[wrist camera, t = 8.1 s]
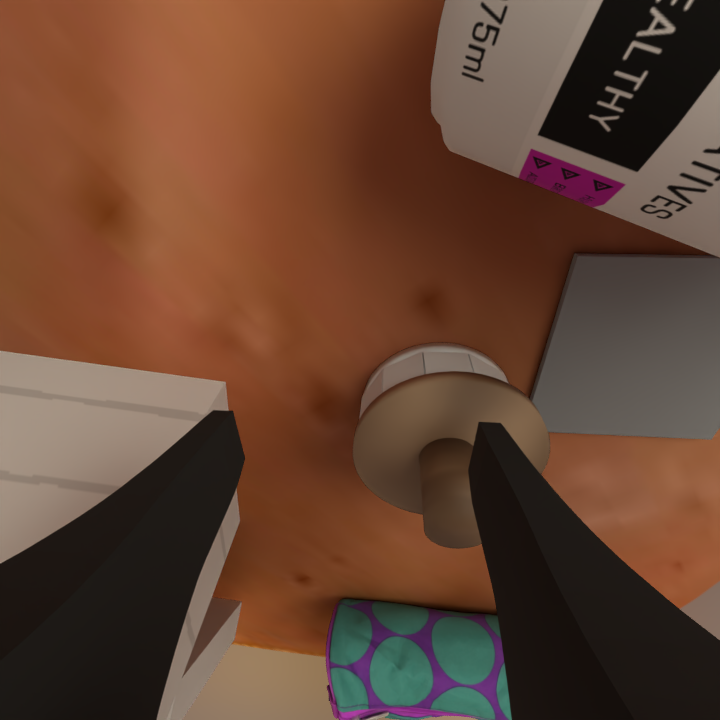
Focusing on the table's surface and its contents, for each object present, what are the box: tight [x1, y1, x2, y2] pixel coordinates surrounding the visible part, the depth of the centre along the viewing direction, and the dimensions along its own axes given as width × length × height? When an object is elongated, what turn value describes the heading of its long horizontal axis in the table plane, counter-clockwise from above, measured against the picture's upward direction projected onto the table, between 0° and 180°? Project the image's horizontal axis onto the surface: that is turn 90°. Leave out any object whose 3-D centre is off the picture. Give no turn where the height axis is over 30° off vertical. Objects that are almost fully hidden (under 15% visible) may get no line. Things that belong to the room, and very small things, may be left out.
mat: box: [530, 253, 720, 439], centre depth 20 cm, size 11×11×1 cm
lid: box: [353, 371, 550, 548], centre depth 19 cm, size 10×10×5 cm
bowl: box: [359, 342, 509, 419], centre depth 22 cm, size 9×9×4 cm
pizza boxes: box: [0, 351, 242, 720], centre depth 23 cm, size 19×30×18 cm, turn 173°
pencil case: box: [326, 599, 512, 720], centre depth 35 cm, size 21×9×10 cm, turn 89°
